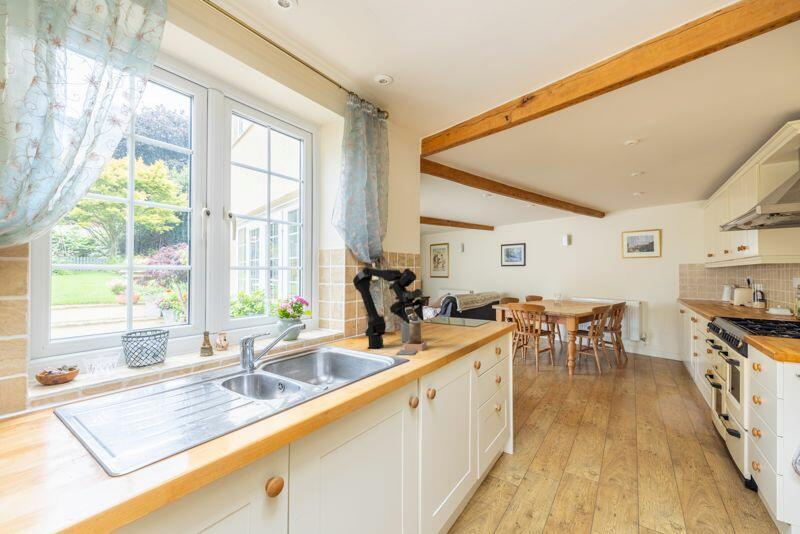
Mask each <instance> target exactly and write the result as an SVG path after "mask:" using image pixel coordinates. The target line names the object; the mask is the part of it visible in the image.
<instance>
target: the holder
mask: <svg viewBox="0 0 800 534" xmlns="http://www.w3.org/2000/svg"><path fill="white" fill-rule="evenodd" d="M403 345H404V347H403V348H404V350H417V352H423V351H424V350H425V349H426V348H427V347H428V343H427V340H421V344H410V341H408V342H407V343H405V344H404V343H403Z"/></svg>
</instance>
